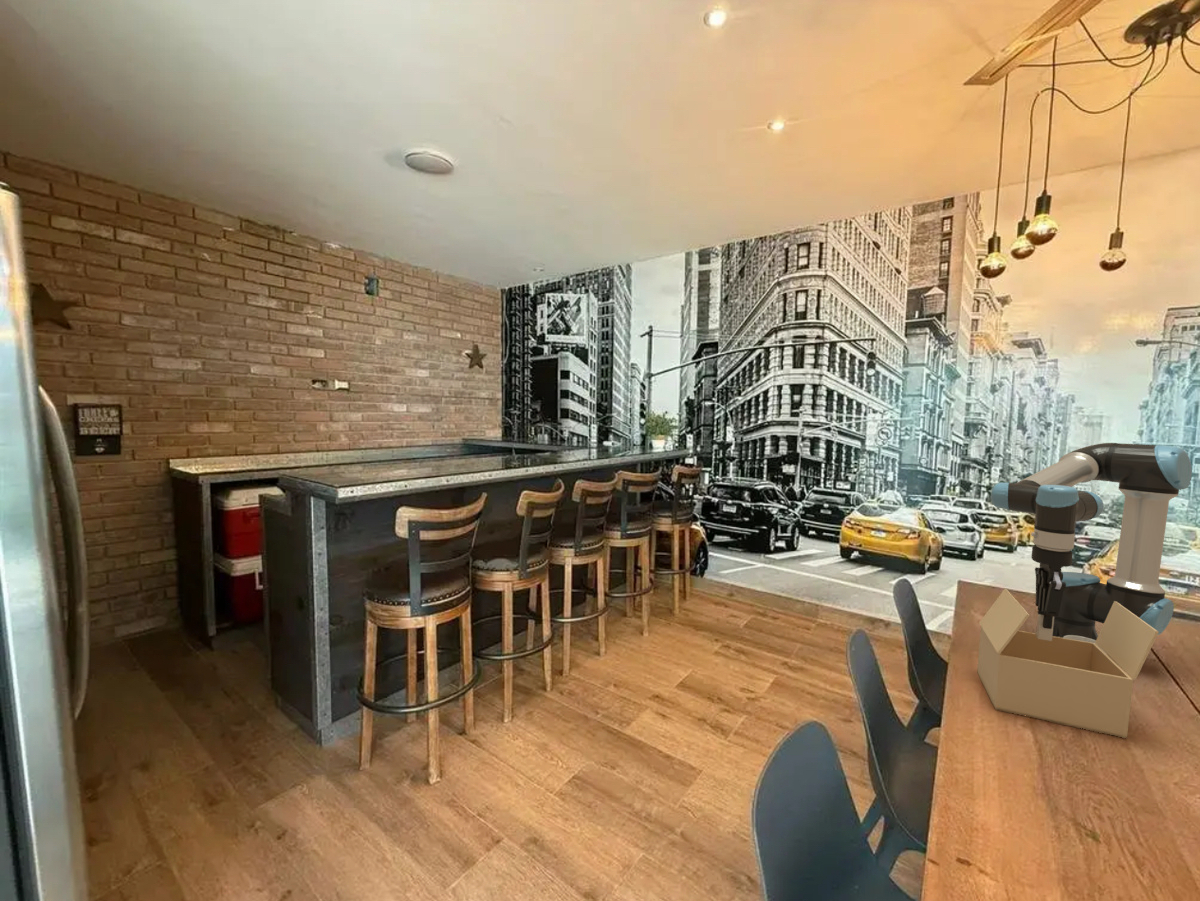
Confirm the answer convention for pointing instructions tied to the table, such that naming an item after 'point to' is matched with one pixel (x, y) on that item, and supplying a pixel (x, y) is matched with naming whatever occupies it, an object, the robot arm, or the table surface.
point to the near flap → (1126, 639)
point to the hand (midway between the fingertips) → (1044, 638)
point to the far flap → (1003, 620)
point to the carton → (1057, 682)
